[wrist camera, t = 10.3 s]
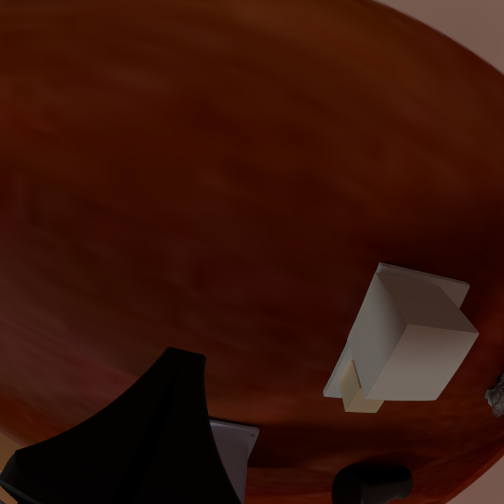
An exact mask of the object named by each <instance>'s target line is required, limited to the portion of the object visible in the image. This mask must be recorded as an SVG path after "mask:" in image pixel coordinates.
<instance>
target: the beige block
mask: <svg viewBox="0 0 504 504" xmlns="http://www.w3.org/2000/svg"><path fill="white" fill-rule="evenodd" d="M478 335H479V333H478V331H477V330H476V329H475V328H474V326H473V325H472V324H471V323H470V321H469V320H468V319H467V318H466V317H465V315H464V314H463V313H462V312H461V311H460V309H459V308H458V307H457V306H456V305H455V304H454V302H453V301H452V300H451V299H450V298H449V297H448V296H447V294H446V293H445V292H444V291H443V290H442V289H441V288H440V287H439V286H437V285H432V284H427V283H423V282H418V281H414V280H409V279H405V278H400V277H396V276H391V275H387V274H382V273H377V272H375V274H374V277H373V279H372V282H371V284H370V287H369V289H368V292H367V294H366V297H365V299H364V302H363V304H362V306H361V309H360V311H359V314H358V316H357V318H356V321H355V323H354V325H353V327H352V330H351V332H350V334H349V336H348V339H347V340H348V343H349V346H350V349H351V353H352V356H353V359H354V362H355V366H356V369H357V373H358V376H359V379H360V383H361V386H362V390H363V393H364V397H365V399H376V400H436V399H437V397H438V396H439V395H440V393H441V392H442V390H443V389H444V388H445V386H446V385H447V383H448V382H449V381H450V379H451V378H452V376H453V375H454V373H455V372H456V370H457V369H458V367H459V366H460V364H461V363H462V361H463V360H464V358H465V356H466V355H467V353H468V352H469V350H470V348H471V347H472V345H473V343H474V342H475V340H476V338H477V336H478Z"/></svg>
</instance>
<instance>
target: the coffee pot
mask: <svg viewBox="0 0 504 504" xmlns="http://www.w3.org/2000/svg"><path fill="white" fill-rule="evenodd" d="M412 486H413V479H412V475H411V473H410V471H409V470H408V469H407V468H406V467H404V466H399V467H397V468H395V469H393V470H392V471H388V470H378V469H370V468H362V467H355V466H347V467H345V468H343V469H342V470H341V471H340V472H339V473H338V474H337V475H336V477H335V479H334V482H333V486H332V502H333V504H387V503H388V502H390V501H392V500H393V499H404V498H406V497H407V496H408V495H409V494H410V492H411V490H412Z"/></svg>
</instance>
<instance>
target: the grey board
mask: <svg viewBox="0 0 504 504" xmlns="http://www.w3.org/2000/svg"><path fill="white" fill-rule="evenodd" d="M376 272H377V273H382V274H387V275H391V276H396V277H400V278H405V279H409V280H414V281H418V282H423V283H427V284H432V285H437V286H439V287H440V288H441V289H442V290H443V291H444V292H445V293H446V294H447V296H448V297H449V298H450V299H451V300H452V301H453V302H454V304H455V305H456V306H457V307H458V308H460V306H461V304H462V302H463V300H464V298H465V296H466V294H467V292H468V289H469V287H470V285H469V284H468V283H467V282H463V281H459V280H455V279H451V278H447V277H442V276H438V275H434V274H429V273H425V272H421V271H416V270H412V269H408V268H403V267H399V266H394V265H390V264H386V263H381V262H380V263H379V265H378V268H377V271H376ZM323 393H324V396H326V397H337V398H343V403H344V408H345V412H369V413H376V412H377V411H378V409H379V408H380V406H381V405H382V403H383V402H384V400H376V399H365V397H364V393H363V390H362V386H361V383H360V379H359V376H358V373H357V369H356V366H355V362H354V359H353V356H352V353H351V349H350V346H349V343H348V341H347V343H346V345H345V348H344V350H343V352H342V354H341V356H340V358H339V360H338V362H337V365H336V367H335V369H334V371H333V373H332V375H331V377H330V379H329V381H328V383H327V385H326V387H325V389H324V391H323Z"/></svg>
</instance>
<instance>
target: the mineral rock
mask: <svg viewBox="0 0 504 504" xmlns="http://www.w3.org/2000/svg"><path fill="white" fill-rule="evenodd" d="M485 399H488V403H489V405H491V407H492V408H493V415H494V416H495V417H500V416H501V415H503V414H504V372H503V373H502V375H501V377H500V379H499V381H497V383H496V385H495V387H494V389H488V390H487V392H486V393H485Z"/></svg>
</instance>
